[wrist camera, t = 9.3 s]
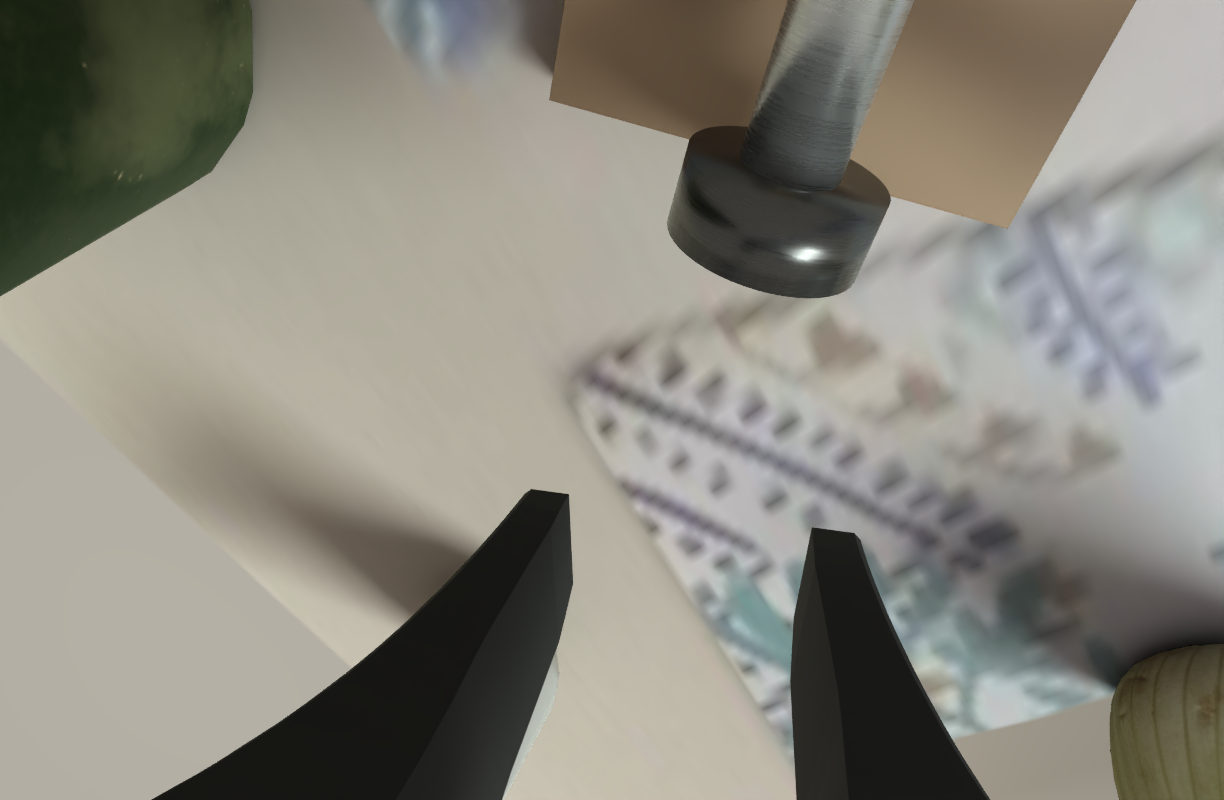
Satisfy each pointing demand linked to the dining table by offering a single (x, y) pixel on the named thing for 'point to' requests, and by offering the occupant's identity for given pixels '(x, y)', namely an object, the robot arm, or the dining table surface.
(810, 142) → the shaft
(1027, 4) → the shaft bracket
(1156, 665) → the fennel bulb
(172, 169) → the green bottle
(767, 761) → the dining table surface
